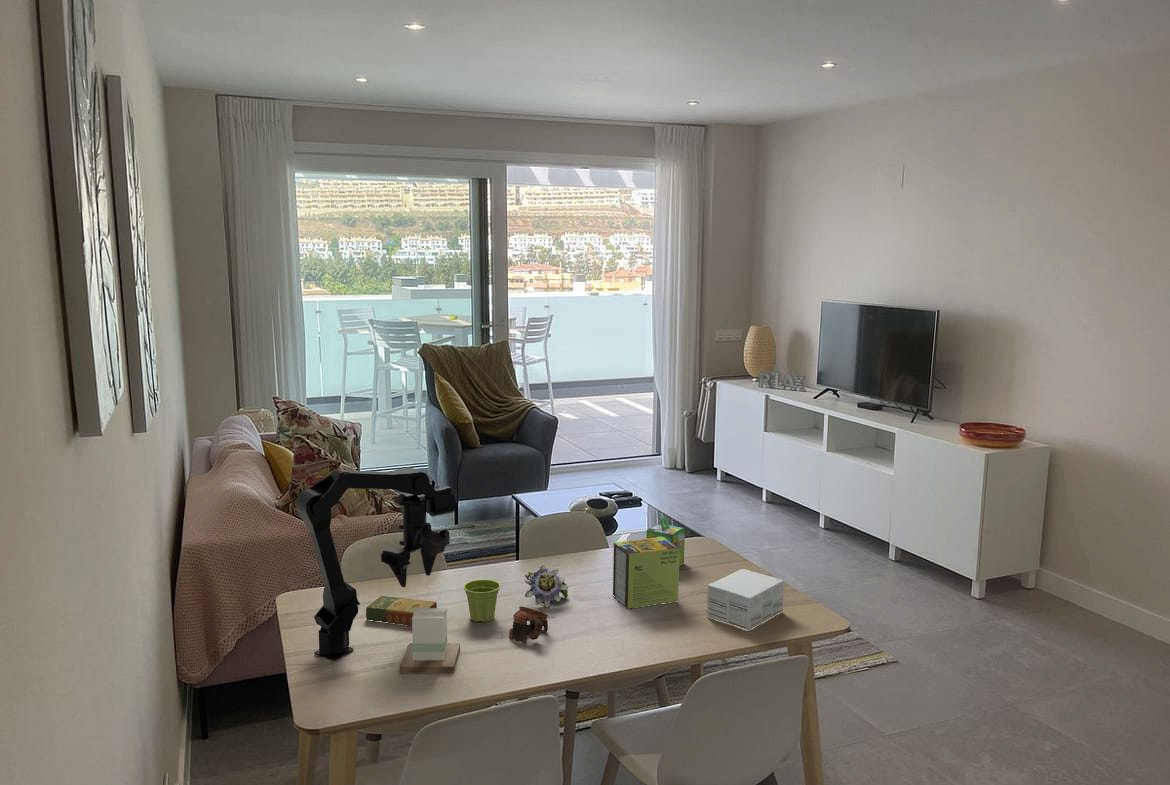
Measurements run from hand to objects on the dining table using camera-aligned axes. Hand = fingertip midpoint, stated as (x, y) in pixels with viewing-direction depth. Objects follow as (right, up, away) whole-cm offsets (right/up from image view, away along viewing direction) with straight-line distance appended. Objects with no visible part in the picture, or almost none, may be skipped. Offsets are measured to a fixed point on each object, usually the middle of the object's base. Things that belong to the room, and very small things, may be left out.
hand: (416, 581), depth 213 cm
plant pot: (+15, -12, +10) cm, 21 cm away
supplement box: (+84, -12, +14) cm, 86 cm away
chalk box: (+66, -6, +51) cm, 84 cm away
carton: (-5, -12, +9) cm, 16 cm away
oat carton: (+6, -14, -15) cm, 21 cm away
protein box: (+58, -10, +24) cm, 64 cm away
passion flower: (+31, -10, +22) cm, 39 cm away
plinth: (+6, -15, -15) cm, 22 cm away
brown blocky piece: (+28, -14, -1) cm, 31 cm away
